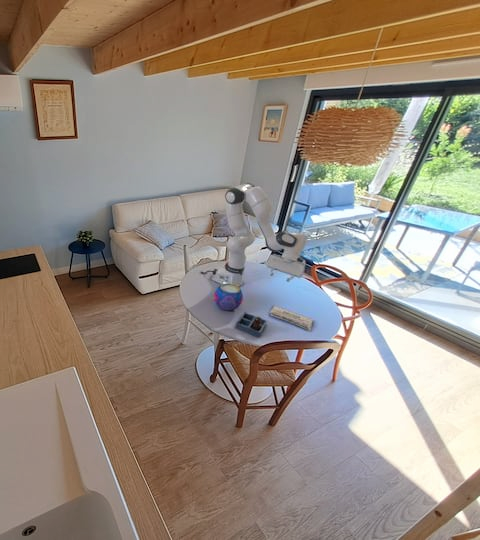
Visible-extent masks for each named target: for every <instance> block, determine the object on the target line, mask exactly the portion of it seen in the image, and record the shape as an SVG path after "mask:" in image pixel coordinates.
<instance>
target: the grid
mask: <svg viewBox="0 0 480 540" xmlns="http://www.w3.org/2000/svg"><path fill="white" fill-rule="evenodd" d="M256 317H257V316H255V315H252V314H250V313H248V312H245V311H244V312H243V314H242V315H241V316H240V318H239V319H238V320H237V322H236V324H235V325H236V326H235V329H237V330H240V331H243V332H244V333H248V334H250V335H252V336H254V337H258V338H260V336H262V335H261V334H263V331H264V330H265V328H266V326H267V323H268V320H266V319H263V318H261V322H262V323H261V326H260V329H259V331H257V330H255V329H252V326H253V322H254V320H255V318H256Z"/></svg>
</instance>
